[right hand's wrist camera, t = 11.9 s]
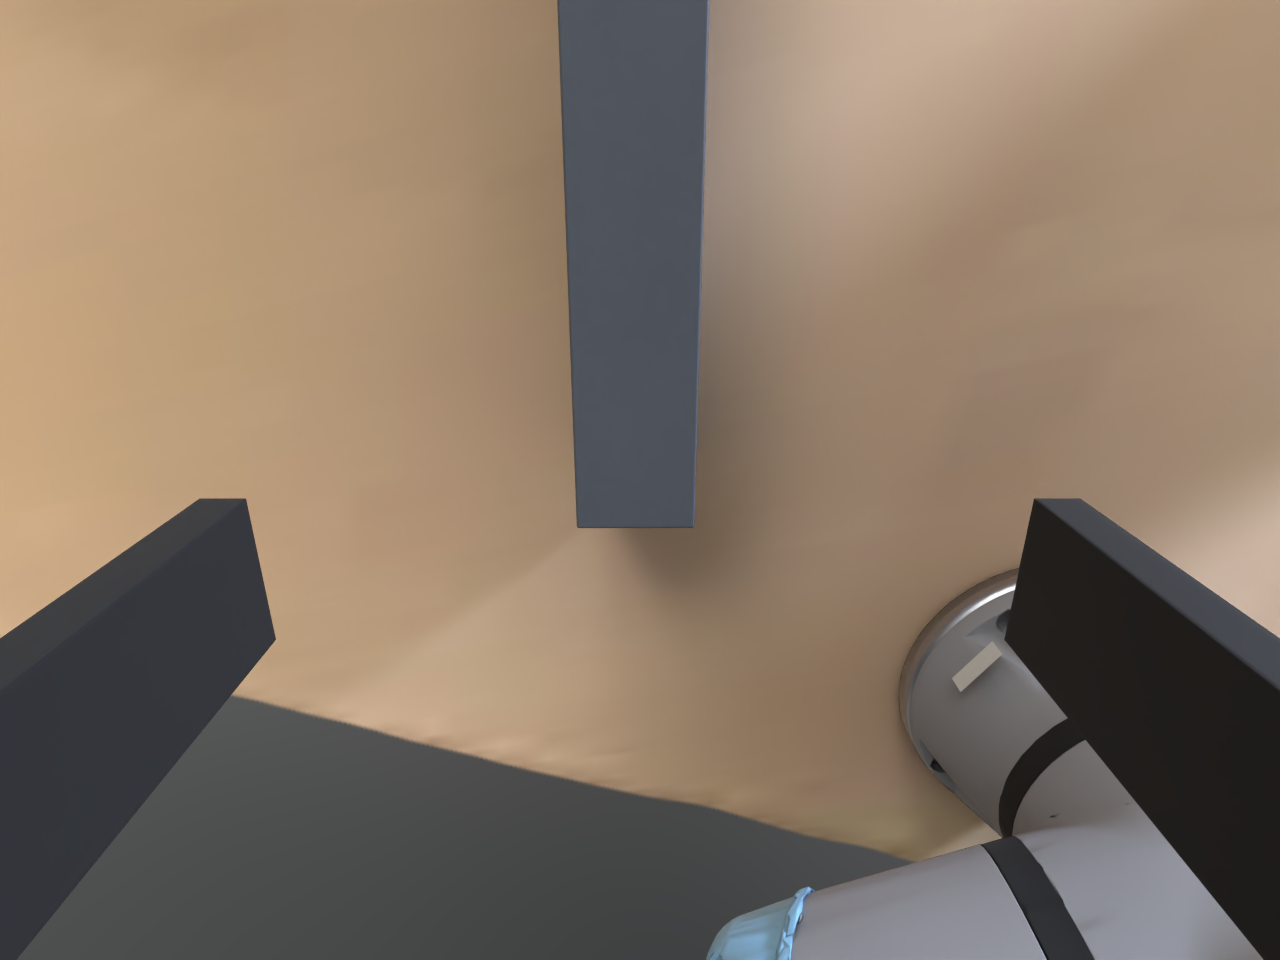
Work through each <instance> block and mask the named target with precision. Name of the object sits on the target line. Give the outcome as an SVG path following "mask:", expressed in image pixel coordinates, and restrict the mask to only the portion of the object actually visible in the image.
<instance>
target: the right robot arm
mask: <svg viewBox="0 0 1280 960" xmlns="http://www.w3.org/2000/svg"><path fill="white" fill-rule="evenodd" d="M275 640H276V638H275V633H274V629H273V624H272V619H271V615H270V610H269V605H268V601H267V596H266V591H265V586H264V582H263V577H262V572H261V568H260V563H259V558H258V554H257V549H256V544H255V539H254V535H253V530H252V525H251V521H250V516H249V511H248V506H247V502H246V499H199V500H197V501H196V502H194V503H193V504H192V505H190V506H189V507H187V508H186V509H184V510H183V511H182V512H180V513H179V514H177V515H176V516H174V517H173V518H172V519H170V520H169V521H167V522H166V523H164V524H163V525H162V526H160V527H159V528H157V529H156V530H154V531H153V532H152V533H150V534H149V535H147V536H146V537H144V538H143V539H142V540H140V541H139V542H137V543H136V544H134V545H133V546H132V547H130V548H129V549H127V550H126V551H124V552H123V553H122V554H120V555H119V556H117V557H116V558H114V559H113V560H112V561H110V562H109V563H107V564H106V565H104V566H103V567H102V568H100V569H99V570H97V571H96V572H94V573H93V574H92V575H90V576H89V577H87V578H86V579H85V580H83V581H82V582H80V583H79V584H77V585H76V586H75V587H73V588H72V589H70V590H69V591H67V592H66V593H65V594H63V595H62V596H60V597H59V598H57V599H56V600H55V601H53V602H52V603H50V604H49V605H47V606H46V607H45V608H43V609H42V610H40V611H39V612H37V613H36V614H35V615H33V616H32V617H30V618H29V619H27V620H26V621H25V622H23V623H22V624H20V625H19V626H17V627H16V628H15V629H13V630H12V631H10V632H9V633H7V634H6V635H5V636H3V637H2V638H0V960H17V958H18V957H19V956H20V955H21V953H22V952H23V951H24V950H25V948H26V947H27V946H28V945H29V944H30V942H31V941H32V940H33V939H34V937H35V936H36V935H37V934H38V932H39V931H40V930H41V929H42V928H43V926H44V925H45V924H46V922H47V921H48V920H49V919H50V918H51V916H52V915H53V914H54V913H55V911H56V910H57V909H58V908H59V907H60V905H61V904H62V903H63V902H64V900H65V899H66V898H67V897H68V895H69V894H70V893H71V892H72V891H73V889H74V888H75V887H76V886H77V884H78V883H79V882H80V881H81V879H82V878H83V877H84V876H85V874H86V873H87V872H88V871H89V870H90V868H91V867H92V866H93V865H94V863H95V862H96V861H97V860H98V858H99V857H100V856H101V855H102V853H103V852H104V851H105V850H106V849H107V847H108V846H109V845H110V844H111V842H112V841H113V840H114V839H115V837H116V836H117V835H118V834H119V833H120V831H121V830H122V829H123V828H124V826H125V825H126V824H127V823H128V821H129V820H130V819H131V818H132V816H133V815H134V814H135V813H136V812H137V810H138V809H139V808H140V807H141V805H142V804H143V803H144V802H145V800H146V799H147V798H148V797H149V795H150V794H151V793H152V792H153V791H154V789H155V788H156V787H157V786H158V784H159V783H160V782H161V781H162V779H163V778H164V777H165V776H166V775H167V773H168V772H169V771H170V770H171V768H172V767H173V766H174V765H175V763H176V762H177V761H178V760H179V758H180V757H181V756H182V755H183V754H184V752H185V751H186V750H187V749H188V747H189V746H190V745H191V744H192V742H193V741H194V740H195V739H196V737H197V736H198V735H199V734H200V733H201V731H202V730H203V729H204V728H205V726H206V725H207V724H208V723H209V721H210V720H211V719H212V718H213V717H214V715H215V714H216V713H217V711H218V710H219V709H220V708H221V707H222V705H223V704H224V703H225V702H226V700H227V699H228V698H229V697H230V696H231V694H232V693H233V692H234V691H235V689H236V688H237V687H238V686H239V684H240V683H241V682H242V681H243V680H244V678H245V677H246V676H247V675H248V673H249V672H250V671H251V670H252V668H253V667H254V666H255V665H256V663H257V662H258V661H259V660H260V659H261V657H262V656H263V655H264V654H265V652H266V651H267V650H268V649H269V647H270V646H271V645H272V644H273V642H274V641H275ZM899 705H900V712H901V716H902V720H903V723H904V726H905V728H906V731H907V733H908V735H909V737H910V739H911V741H912V743H913V745H914V747H915V749H916V751H917V753H918V754H919V756H920V758H921V760H922V761H923V762H924V764H925V765H926V766H927V768H928V769H929V770H930V771H931V772H932V773H933V774H934V775H935V776H936V778H937V779H938V780H939V781H940V782H942V783H943V784H944V785H945V786H946V787H947V788H948V789H949V790H951V791H952V792H953V793H955V794H956V796H957V797H958V798H959V799H960V800H961V801H962V802H963V803H965V804H966V805H967V806H968V807H969V808H970V809H971V810H972V811H973V812H974V813H976V814H977V815H978V816H979V817H980V818H981V819H982V820H983V821H984V822H986V823H987V824H988V825H989V826H990V827H991V828H992V829H993V830H994V831H996V832H997V833H998V834H999V835H1000V836H1001V837H1002V839H999V840H995V841H992V842H988V843H985V844H979V845H975V846H972V847H968V848H965V849H961V850H958V851H954V852H951V853H947V854H944V855H940V856H937V857H933V858H930V859H926V860H923V861H919V862H916V863H912V864H909V865H905V866H902V867H898V868H894V869H891V870H888V871H884V872H881V873H877V874H873V875H870V876H866V877H863V878H859V879H856V880H852V881H849V882H845V883H842V884H838V885H835V886H831V887H828V888H824V889H821V890H817V891H814V890H813V889H811V888H810V887H806V888H802V889H800V890H798V891H797V892H796V894H795V895H794V897H791V898H789V899H786V900H783V901H780V902H777V903H774V904H771V905H768V906H766V907H763V908H760V909H757V910H754V911H751V912H748V913H746V914H743V915H740V916H738V917H736V918H734V919H732V920H731V921H730V922H728V923H727V924H726V925H725V926H724V927H723V928H722V929H721V930H720V931H719V933H718V934H717V936H716V937H715V939H714V941H713V943H712V945H711V947H710V950H709V952H708V955H707V958H706V960H1280V638H1278V637H1277V636H1275V635H1274V634H1273V633H1271V632H1270V631H1268V630H1267V629H1265V628H1264V627H1263V626H1261V625H1260V624H1258V623H1257V622H1255V621H1254V620H1253V619H1251V618H1250V617H1248V616H1247V615H1245V614H1244V613H1243V612H1241V611H1240V610H1238V609H1237V608H1235V607H1234V606H1233V605H1231V604H1230V603H1228V602H1227V601H1225V600H1224V599H1223V598H1221V597H1220V596H1218V595H1217V594H1215V593H1214V592H1213V591H1211V590H1210V589H1208V588H1207V587H1205V586H1204V585H1203V584H1201V583H1200V582H1198V581H1197V580H1196V579H1194V578H1193V577H1191V576H1190V575H1188V574H1187V573H1186V572H1184V571H1183V570H1181V569H1180V568H1178V567H1177V566H1176V565H1174V564H1173V563H1171V562H1170V561H1168V560H1167V559H1166V558H1164V557H1163V556H1161V555H1160V554H1158V553H1157V552H1156V551H1154V550H1153V549H1151V548H1150V547H1148V546H1147V545H1146V544H1144V543H1143V542H1141V541H1140V540H1138V539H1137V538H1136V537H1134V536H1133V535H1131V534H1130V533H1128V532H1127V531H1126V530H1124V529H1123V528H1121V527H1120V526H1118V525H1117V524H1116V523H1114V522H1113V521H1111V520H1110V519H1108V518H1107V517H1106V516H1104V515H1103V514H1101V513H1100V512H1098V511H1097V510H1096V509H1094V508H1093V507H1091V506H1090V505H1088V504H1087V503H1086V502H1084V501H1083V500H1081V499H1034V502H1033V506H1032V511H1031V516H1030V521H1029V525H1028V530H1027V535H1026V539H1025V544H1024V549H1023V553H1022V558H1021V563H1020V568H1018V569H1014V570H1011V571H1008V572H1005V573H1002V574H1000V575H997V576H994V577H992V578H990V579H988V580H986V581H983V582H981V583H979V584H978V585H976V586H974V587H972V588H971V589H969V590H967V591H966V592H964V593H963V594H961V595H960V596H958V597H957V598H955V599H954V600H953V601H952V602H950V603H949V604H948V605H947V606H945V607H944V608H943V609H942V610H941V611H940V612H939V613H938V614H937V615H936V616H935V617H934V618H933V619H932V620H931V621H930V622H929V624H928V625H927V626H926V627H925V628H924V630H923V631H922V632H921V634H920V635H919V637H918V638H917V640H916V641H915V643H914V645H913V646H912V648H911V650H910V653H909V655H908V657H907V659H906V662H905V665H904V668H903V671H902V675H901V679H900V687H899Z"/></svg>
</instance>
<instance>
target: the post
mask: <svg viewBox="0 0 1280 960" xmlns="http://www.w3.org/2000/svg"><path fill="white" fill-rule="evenodd" d="M557 2H558V29H559V56H560V83H561V110H562V137H563V164H564V191H565V218H566V245H567V272H568V299H569V326H570V353H571V380H572V407H573V434H574V461H575V488H576V515H577V527H578V528H693V527H694V520H695V485H696V450H697V415H698V379H699V344H700V309H701V274H702V239H703V204H704V169H705V134H706V99H707V64H708V29H709V0H557Z"/></svg>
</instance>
